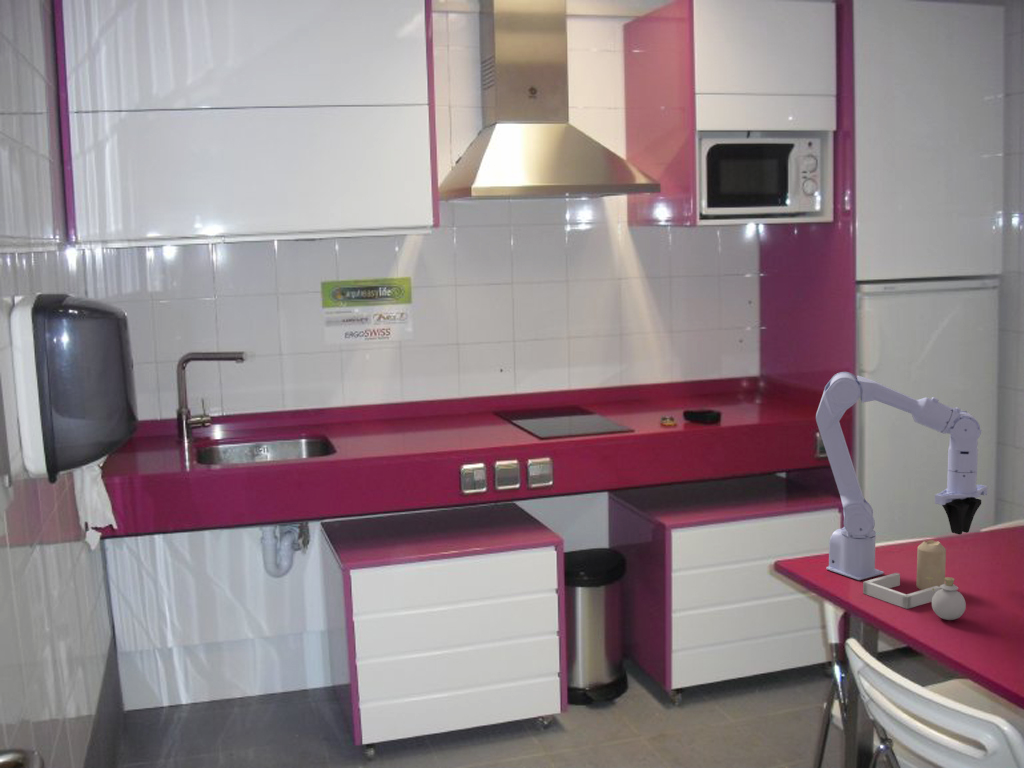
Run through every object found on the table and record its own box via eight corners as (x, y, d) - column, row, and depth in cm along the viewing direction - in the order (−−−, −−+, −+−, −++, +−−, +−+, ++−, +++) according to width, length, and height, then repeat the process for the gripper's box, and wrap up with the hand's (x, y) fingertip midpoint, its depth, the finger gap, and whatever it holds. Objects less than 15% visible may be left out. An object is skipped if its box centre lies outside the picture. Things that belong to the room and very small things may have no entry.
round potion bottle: (967, 625, 197) (969, 574, 196) (925, 623, 199) (927, 572, 198) (962, 614, 203) (963, 564, 202) (921, 612, 205) (922, 563, 203)
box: (863, 593, 216) (863, 581, 216) (895, 584, 221) (896, 572, 221) (907, 609, 207) (907, 596, 206) (940, 599, 211) (940, 587, 211)
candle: (916, 591, 216) (918, 544, 215) (915, 582, 222) (917, 536, 220) (945, 593, 215) (947, 546, 213) (943, 584, 220) (945, 538, 218)
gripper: (956, 478, 212) (954, 542, 214) (1001, 468, 219) (998, 531, 221) (927, 471, 218) (925, 534, 220) (971, 462, 225) (969, 523, 227)
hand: (960, 532), depth 221 cm, fingers closed
